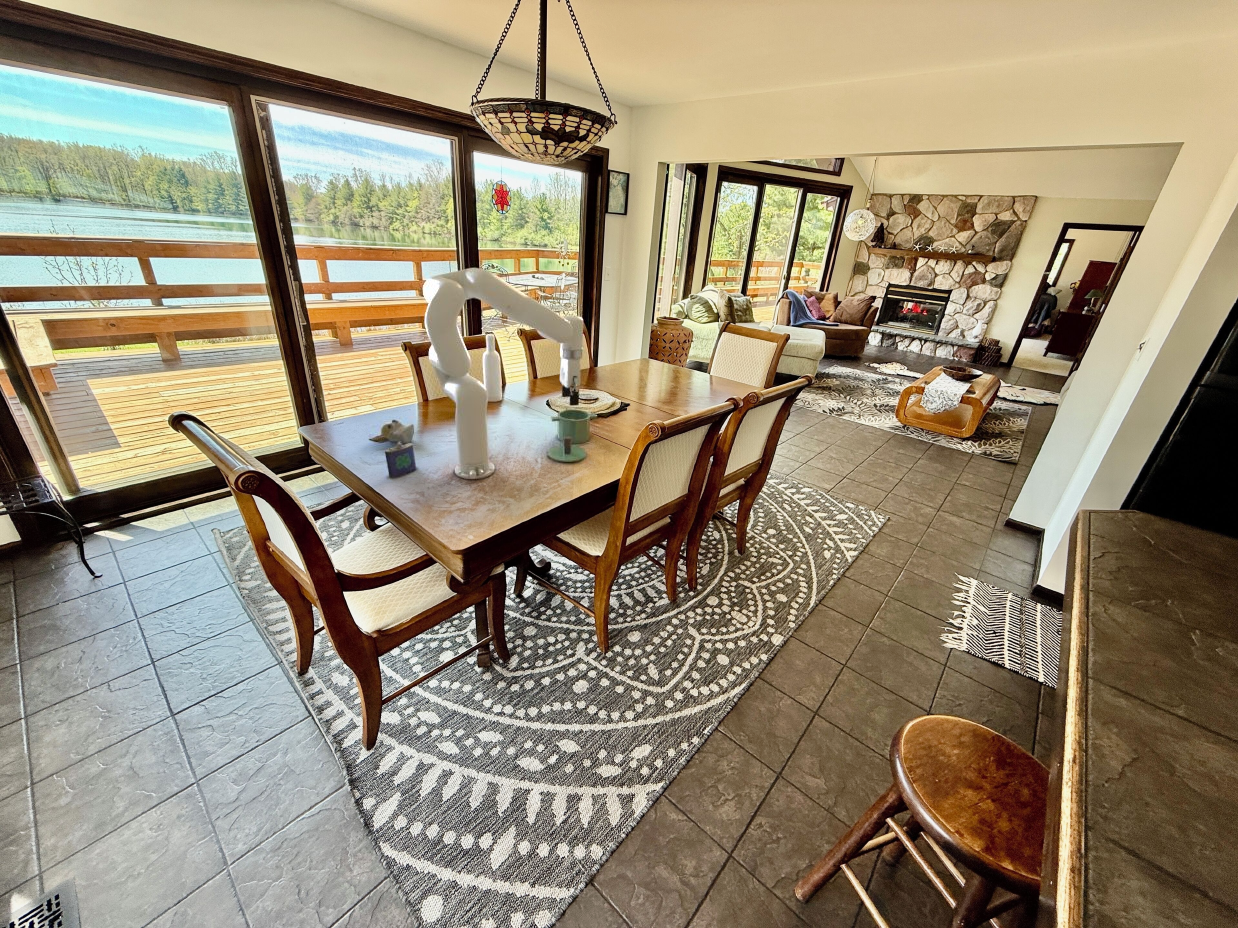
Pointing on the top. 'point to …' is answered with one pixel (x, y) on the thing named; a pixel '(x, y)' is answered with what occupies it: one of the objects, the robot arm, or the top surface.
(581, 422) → the pot
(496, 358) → the bottle
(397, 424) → the ceramic sculpture
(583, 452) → the lid
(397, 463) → the flask
